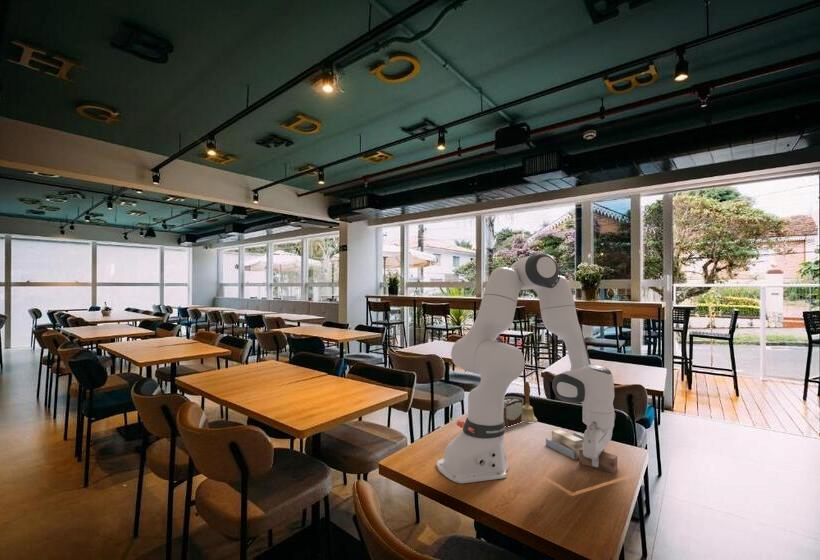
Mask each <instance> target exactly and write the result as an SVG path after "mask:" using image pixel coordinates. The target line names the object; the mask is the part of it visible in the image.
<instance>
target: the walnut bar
mask: <svg viewBox="0 0 820 560" xmlns="http://www.w3.org/2000/svg"><path fill="white" fill-rule="evenodd" d="M578 461H579V464H581V465H586V466H588V467H592V468H594V469H598V470H601V471H604V472H606V473H611V474H615V473H616V472H617V471H618V455H615V454H612V453H609V452H606V451H604V452H601V453H600V455H599V466H598V467H594V466H592V459H591V458H587V457H585V456H584V455H583V447H582V448H580V449H579V458H578Z"/></svg>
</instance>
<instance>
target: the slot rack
mask: <svg viewBox="0 0 820 560" xmlns="http://www.w3.org/2000/svg"><path fill="white" fill-rule="evenodd" d="M573 436H576V437H578V438H580V439H582V440H584V434H582V433H579V432H576V431H574V432H573ZM545 446H547V447H549V448H551V449H553V450H554V451H557V452H559V453H560V454H563V455H564V456H566V457H568V458H571V459H572V460H577V459H579V456H576V451H574V450H572V449H569V448H567V447H565V446H563V445H561V444H559V443H557V442H555V441H553V440H552V438H551V439H550V438H549V437H548V438H545Z"/></svg>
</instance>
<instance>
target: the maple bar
mask: <svg viewBox="0 0 820 560" xmlns="http://www.w3.org/2000/svg"><path fill="white" fill-rule="evenodd" d="M551 440H553V441H555V442H557V443H559V444H561V445H563V446H565V447H567V448H569V449H572V450H574V451H576V456H579V449H580V448H582V447H583V440H582V439H580V438H578V437H576V436H574V434H571V433H569V432H566V431H564V430H561V429H554V430H551Z"/></svg>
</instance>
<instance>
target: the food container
mask: <svg viewBox="0 0 820 560" xmlns="http://www.w3.org/2000/svg"><path fill="white" fill-rule="evenodd" d="M524 404H525V399H524V398H523V397H520V396H505V398H504V413H503V420H504V421H505V426H506V427H508V426H511V425H514V424H517V423H520V422H522V409H523V406H524ZM522 423H523V422H522ZM520 424H521V423H520ZM517 425H518V424H517ZM514 426H515V425H514ZM506 427H505V428H506ZM511 427H512V426H511Z"/></svg>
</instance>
